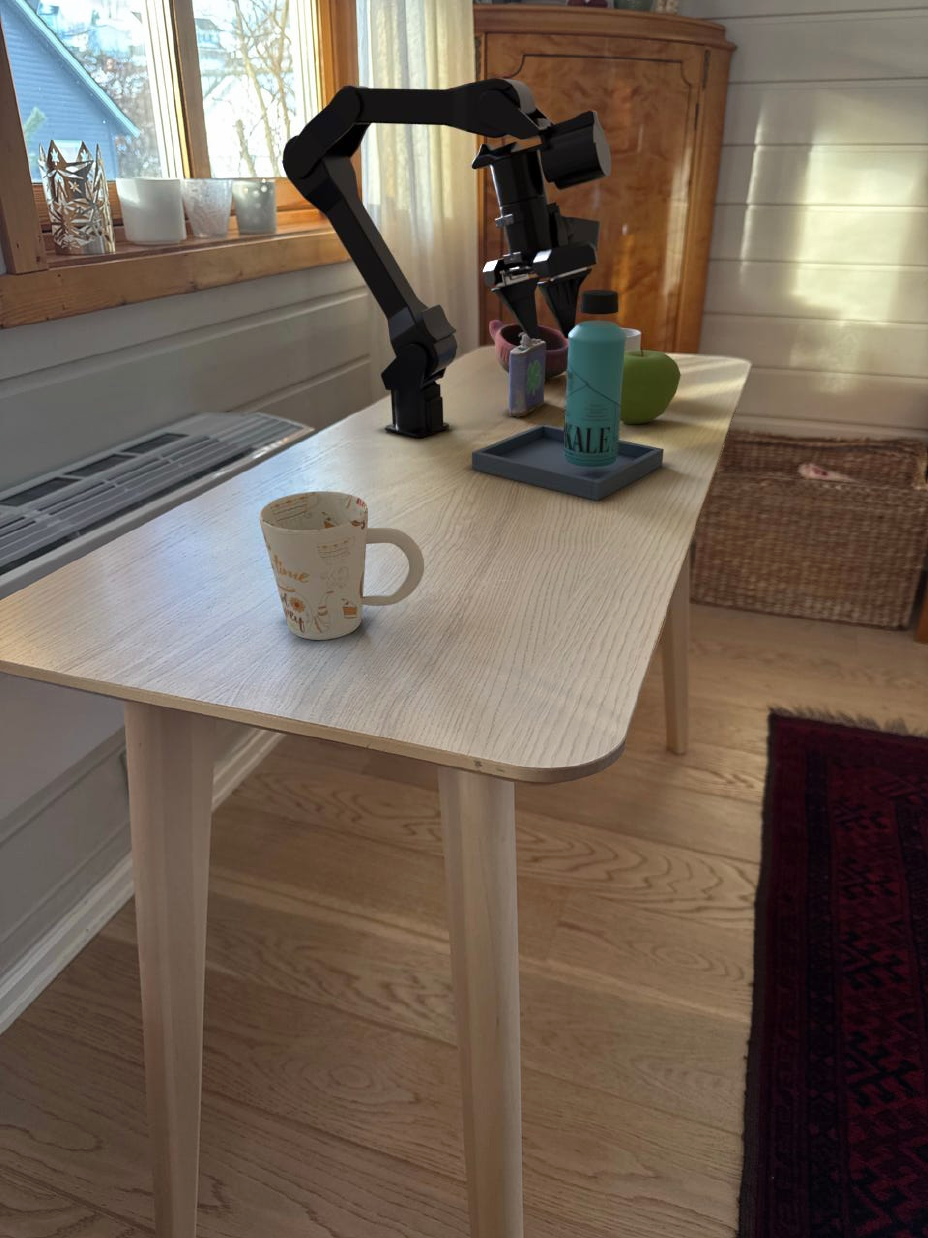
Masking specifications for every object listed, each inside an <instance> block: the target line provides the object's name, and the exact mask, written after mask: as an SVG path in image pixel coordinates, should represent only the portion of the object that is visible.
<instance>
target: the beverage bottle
mask: <svg viewBox="0 0 928 1238" xmlns="http://www.w3.org/2000/svg"><path fill="white" fill-rule="evenodd" d="M578 311H579V312H580V313H581V314H585V315H586V314H587V315H612V314H617V313H618V312H619V293H618V292H617V291H615V290H610V289H587V290H584V291H582V292H581V294H580V303H579V308H578ZM621 328H622V327H620V325H618V324H617V322H614V321H609V320H586V321H581V322H579V323H577V324H575V327H574V328H573V329H572V330H571V331H570V333H569V335H568V338H569V349H568V359H567V358H566V359H567V360H568V366H567V367H568V368H566V371H565V376H566V381H564V382H565V385H564V386H565V390H566V391H565V394H566V395H565V397H564V399H565V404H564V412H563V413H564V415H563V416H564V418H563V420H564V426H563V428H564V431H563V432H564V433H565V442H564V433H563V442H564V449H563V450H564V453H563V454H564V456H565V460H566V461H567V462H569V463H571V464H574V465H578V466H584V467H601V466H607V465H610V464H612V463H614V462H615V461H616V459H617V456H618V455H619V454H618V448H619V447H618V443H619V440H620V439H621V436H620V431H621V429H620V426H621V420H620V415H621V414H620V411H621V392H622V378H623V365H624V351H625V340H626V334H625V332H624V331H623V330H622V329H621ZM621 417H622V416H621Z"/></svg>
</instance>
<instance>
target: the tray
mask: <svg viewBox="0 0 928 1238" xmlns="http://www.w3.org/2000/svg"><path fill="white" fill-rule="evenodd" d="M563 431H564V427H560V426H554V425H549V424H544V423H541V424H539V425H536V426H533V427H531V428H529V429H526V430H523V431H521V432H519V433H517V434H514V435H512V436H509V437H507V438H503V439H502V440H499V441H496V442H494V443H491V444H489V445H487V446H485V447H482V448H479V449H477V450H474V451H472V452H471V470H473V471H478V472H482V473H486V474H490V475H493V476H498V477H501V478H506V479H510V480H514V481H518V482H521V483H526V484H529V485H533V486H536V487H537V486H538V487H542V488H546V489H550V490H553V491H558V492H561V493H565V494H568V495H573V496H577V497H581V498H585V499H588V500H593V501H598V502H599V501H601V500H602V499H603V498H605V497H607V496H610V495H611V494H613V493H615V492H617V491H618V490H621V489H623V488H624V487H626V486H627V485H629V484H631V483H633V482H635V481H637V480H639V479H640V478H642V477H644V476H646V475H648V474H650V473H652V472H653V471H656V469H658V468H660V467H663V462H664V461H663V460H664V453H665V452H664V451H665V448H663V447H657V446H651V445H647V444H641V443H637V442H632V441H628V440H622V439H619V443H618V447H619V448H618V454H619V455H618V456H617V459H616V461H615V462H614V463H612V464H610V465H607V466H601V467H584V466H578V465H574V464H571V463H569V462H567V461H566V460H565V456H564V454H563V453H564V450H563V449H564V442H565V433H564V432H563ZM563 433H564V442H563Z"/></svg>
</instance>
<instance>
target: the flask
mask: <svg viewBox="0 0 928 1238" xmlns="http://www.w3.org/2000/svg"><path fill="white" fill-rule="evenodd" d="M524 333H525V332H522V333H520V334H519V337H520V336H521V335H522V334H524ZM520 343H521V345H520V346H518V347H516V348H514V349H513V350H511V351H510V354H509V373H508V377H509V378H508V379H509V380H508V391H509V392H508V409H507V410H508V411H507V412H508V416H510V417H517V418H519V417H521V416H522V417H523V416H526V415H527V414H528V413H531V412H533V411H535V409H537V408H538V407H541V406H542V405H544V404H545V360H546V342H545V341H541V339H538V340H536V339H530V338H529V337H528V336H527V334H524V335H522V340H521V342H520Z"/></svg>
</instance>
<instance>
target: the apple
mask: <svg viewBox="0 0 928 1238" xmlns="http://www.w3.org/2000/svg"><path fill="white" fill-rule="evenodd" d="M681 376H682V374H681V371H680V368H679V365H678V363H677V362H676V360H674V359H673V358H672V357H670V356H669V354H666V353H665V352H662V351H657V350H656V351H655V350H648V349H645V350H644V349H643V347H640V350H631V351H625V352H624V365H623V378H622V392H621V411H620V414H621V415H620V422H622V423H624V424H626V425H642V424H646V423H650V422H651V421H653V420H654V419H657V418H658V417H660V416H661V415H663V414H664V413H665V412H666V410H667V409H668V407H669V405H670V404H671V403H672V401H673V400H674V398H675V395H676V394H677V391H678V388H679V385H680V380H681ZM621 416H622V417H621Z"/></svg>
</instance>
